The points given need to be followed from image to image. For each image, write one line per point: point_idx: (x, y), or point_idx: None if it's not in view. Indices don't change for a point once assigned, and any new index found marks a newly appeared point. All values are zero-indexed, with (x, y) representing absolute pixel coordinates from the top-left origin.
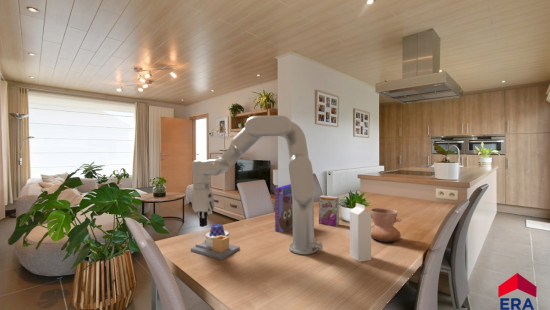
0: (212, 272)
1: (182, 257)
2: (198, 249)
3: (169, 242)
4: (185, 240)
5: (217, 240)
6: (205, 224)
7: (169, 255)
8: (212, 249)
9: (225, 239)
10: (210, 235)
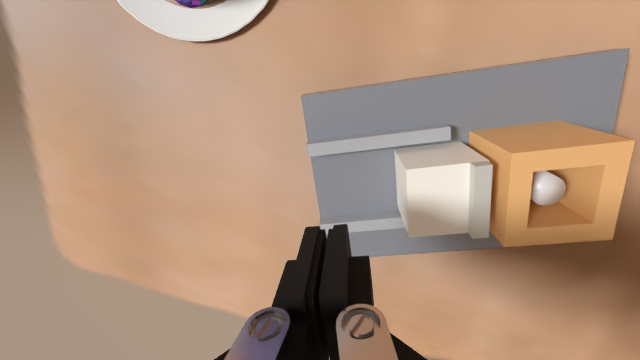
0: (621, 329)
1: None
2: (380, 246)
3: (116, 243)
4: (144, 174)
5: (560, 239)
6: (370, 271)
7: None
8: None
9: (616, 187)
10: (184, 3)
